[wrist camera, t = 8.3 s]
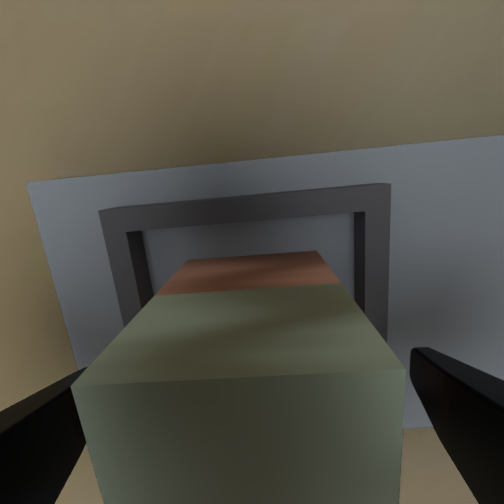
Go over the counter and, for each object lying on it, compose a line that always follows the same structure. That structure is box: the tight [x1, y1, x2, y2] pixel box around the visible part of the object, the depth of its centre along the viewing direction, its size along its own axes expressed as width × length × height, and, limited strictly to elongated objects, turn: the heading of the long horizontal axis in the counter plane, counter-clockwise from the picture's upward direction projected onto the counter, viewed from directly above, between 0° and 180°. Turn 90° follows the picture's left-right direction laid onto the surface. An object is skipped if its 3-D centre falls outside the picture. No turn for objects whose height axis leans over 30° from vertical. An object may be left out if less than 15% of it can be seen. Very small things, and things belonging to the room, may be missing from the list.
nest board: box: [26, 135, 504, 429], centre depth 12 cm, size 20×12×2 cm, turn 95°
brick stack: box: [71, 250, 406, 504], centre depth 8 cm, size 5×5×7 cm
